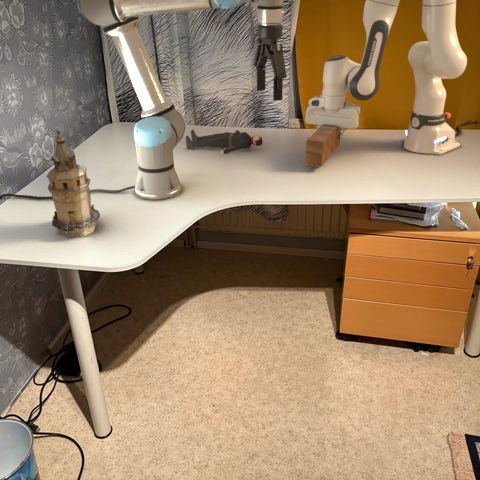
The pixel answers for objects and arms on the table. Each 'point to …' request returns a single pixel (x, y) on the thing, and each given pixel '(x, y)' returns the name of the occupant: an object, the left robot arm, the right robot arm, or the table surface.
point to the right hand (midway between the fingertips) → (330, 137)
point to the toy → (224, 141)
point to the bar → (322, 145)
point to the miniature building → (70, 193)
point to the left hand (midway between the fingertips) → (269, 95)
